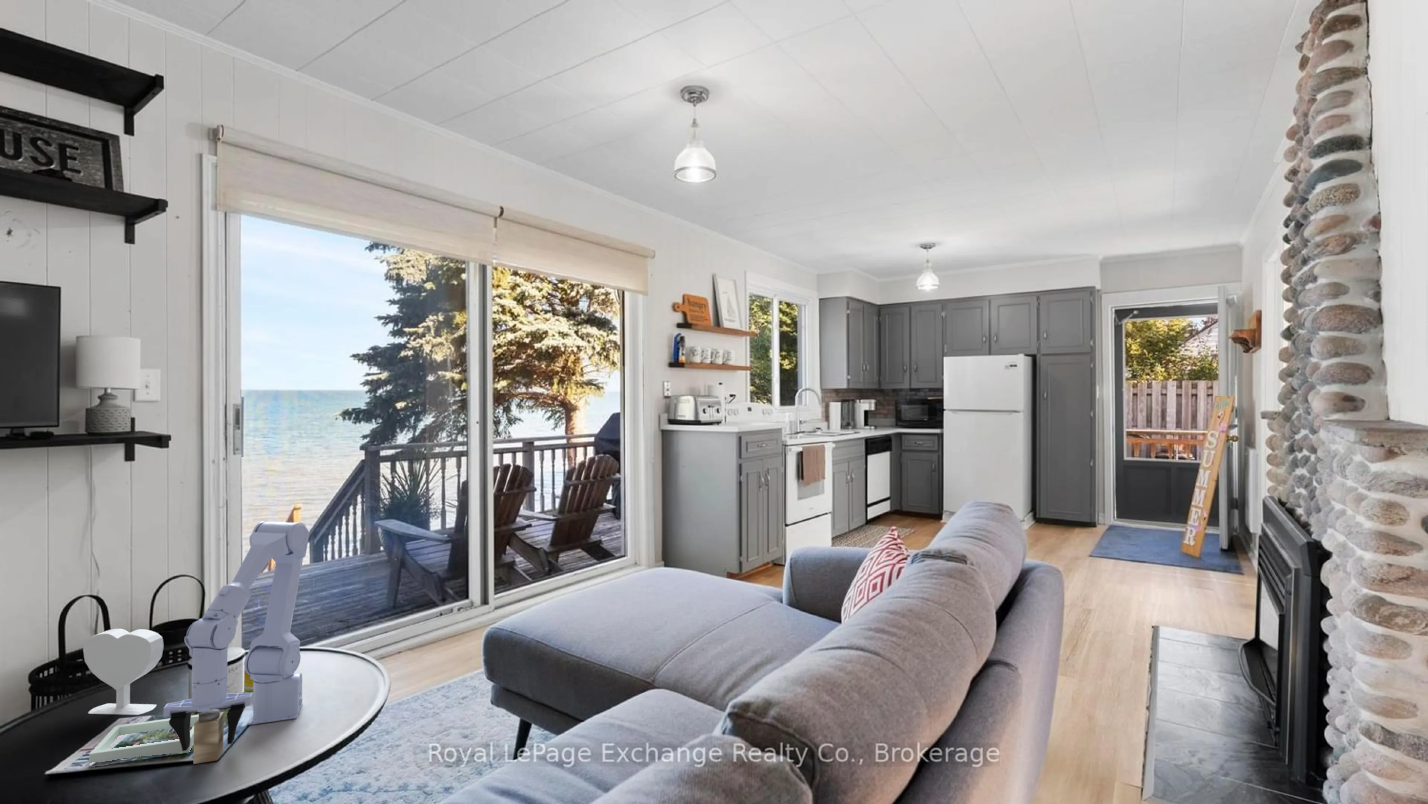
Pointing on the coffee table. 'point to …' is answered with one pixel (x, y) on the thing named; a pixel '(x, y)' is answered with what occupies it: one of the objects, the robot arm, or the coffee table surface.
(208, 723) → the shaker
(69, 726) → the coffee table surface
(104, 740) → the tray
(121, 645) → the heart sculpture
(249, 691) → the supplement bottle
